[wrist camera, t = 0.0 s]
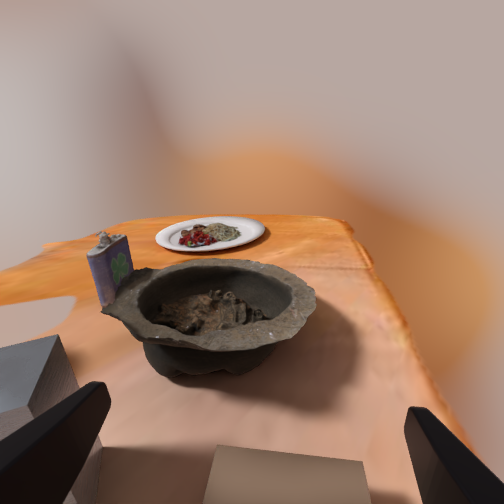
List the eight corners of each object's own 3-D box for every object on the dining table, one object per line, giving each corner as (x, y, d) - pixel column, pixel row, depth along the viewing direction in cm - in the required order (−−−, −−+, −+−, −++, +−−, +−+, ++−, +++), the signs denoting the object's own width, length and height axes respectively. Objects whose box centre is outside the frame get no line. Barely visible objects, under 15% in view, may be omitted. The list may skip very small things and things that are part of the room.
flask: (114, 309, 44) (94, 242, 39) (95, 309, 44) (73, 242, 40) (140, 280, 53) (126, 223, 49) (124, 280, 53) (109, 224, 49)
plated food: (266, 220, 89) (265, 210, 88) (263, 255, 61) (263, 241, 60) (177, 223, 92) (175, 213, 90) (136, 258, 64) (133, 245, 63)
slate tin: (91, 532, 18) (27, 404, 14) (-20, 582, 16) (-138, 454, 12) (102, 446, 23) (58, 334, 19) (19, 477, 21) (-52, 360, 17)
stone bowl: (71, 404, 27) (45, 325, 24) (177, 293, 50) (170, 246, 48) (322, 434, 23) (326, 341, 20) (311, 297, 46) (312, 246, 43)
